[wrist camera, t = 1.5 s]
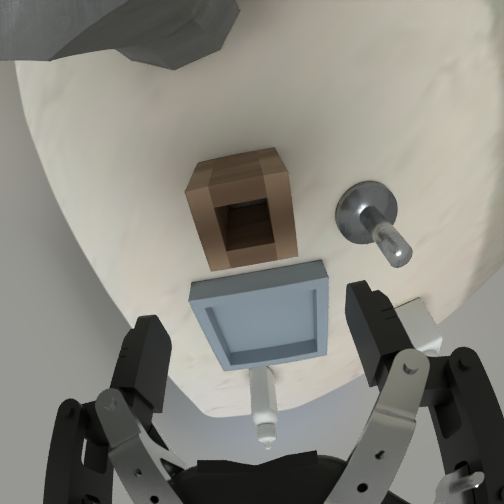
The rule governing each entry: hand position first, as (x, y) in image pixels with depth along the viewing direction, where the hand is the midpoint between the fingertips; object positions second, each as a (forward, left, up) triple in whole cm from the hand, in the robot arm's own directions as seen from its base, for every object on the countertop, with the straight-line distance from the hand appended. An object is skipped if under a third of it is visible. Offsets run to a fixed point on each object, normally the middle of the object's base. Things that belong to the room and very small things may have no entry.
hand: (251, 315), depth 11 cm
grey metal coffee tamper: (+4, +10, -13) cm, 17 cm away
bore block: (0, 0, -13) cm, 13 cm away
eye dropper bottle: (+28, -3, -13) cm, 31 cm away
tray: (+15, -1, -13) cm, 20 cm away
